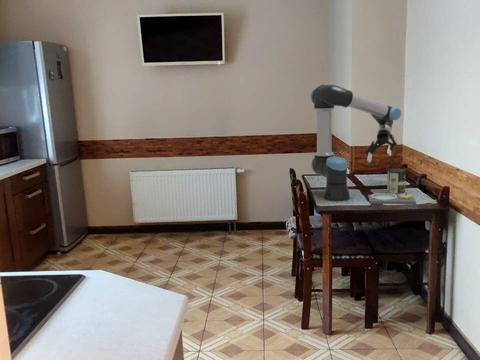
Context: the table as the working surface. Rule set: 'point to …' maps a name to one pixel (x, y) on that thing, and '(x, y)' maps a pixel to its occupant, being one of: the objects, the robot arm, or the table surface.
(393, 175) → the coffee can
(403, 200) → the gear board
